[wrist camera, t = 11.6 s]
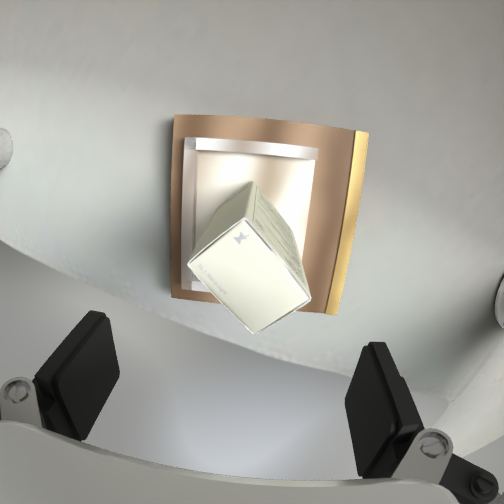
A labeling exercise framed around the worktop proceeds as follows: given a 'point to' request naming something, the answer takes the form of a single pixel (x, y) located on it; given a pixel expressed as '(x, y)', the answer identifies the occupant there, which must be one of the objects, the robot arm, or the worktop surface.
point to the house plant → (5, 147)
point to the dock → (268, 192)
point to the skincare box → (251, 261)
